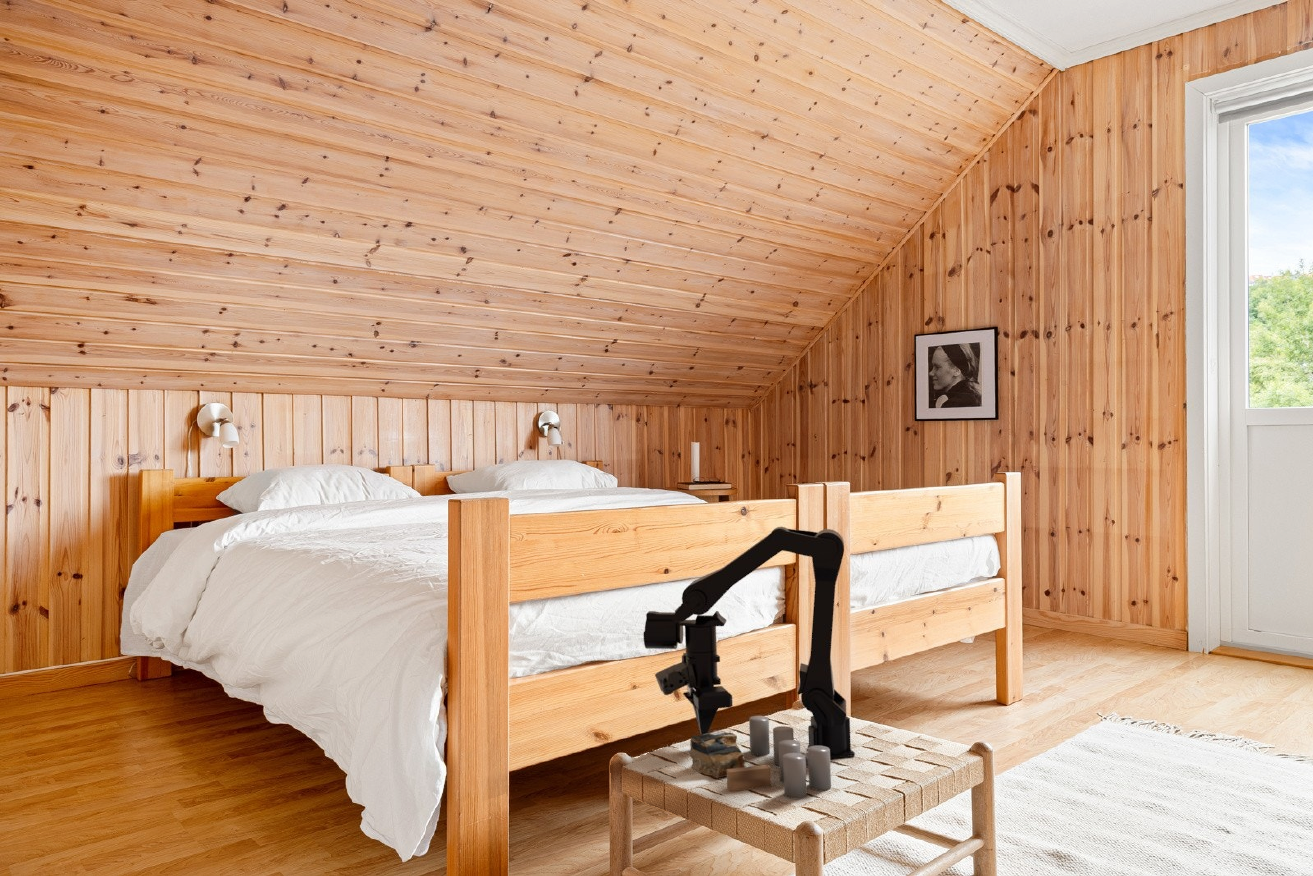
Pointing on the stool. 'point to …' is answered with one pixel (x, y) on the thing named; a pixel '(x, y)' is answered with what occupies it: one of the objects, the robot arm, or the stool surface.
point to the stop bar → (748, 777)
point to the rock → (715, 753)
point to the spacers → (791, 758)
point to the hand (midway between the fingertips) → (703, 734)
